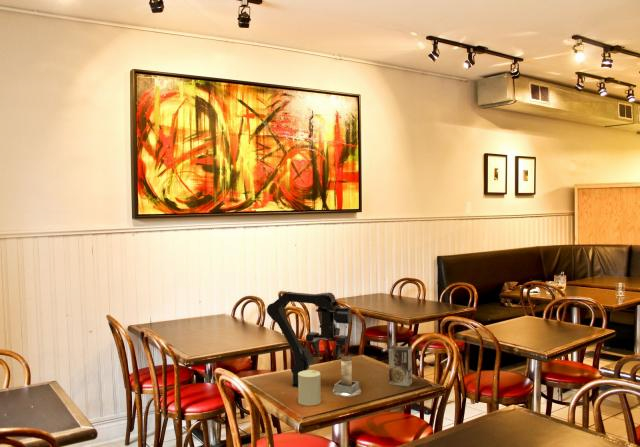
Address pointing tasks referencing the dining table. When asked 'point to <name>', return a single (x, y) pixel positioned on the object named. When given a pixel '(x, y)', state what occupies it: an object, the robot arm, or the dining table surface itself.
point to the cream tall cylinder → (346, 370)
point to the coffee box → (400, 365)
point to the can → (309, 387)
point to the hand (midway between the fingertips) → (327, 358)
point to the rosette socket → (347, 389)
